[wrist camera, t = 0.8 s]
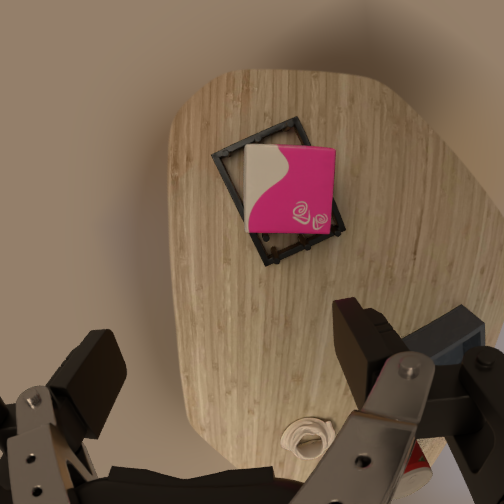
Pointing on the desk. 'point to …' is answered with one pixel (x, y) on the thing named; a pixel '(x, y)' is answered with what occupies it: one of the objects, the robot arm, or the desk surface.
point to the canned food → (414, 474)
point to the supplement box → (288, 188)
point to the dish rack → (226, 152)
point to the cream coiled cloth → (309, 427)
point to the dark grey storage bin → (448, 337)
